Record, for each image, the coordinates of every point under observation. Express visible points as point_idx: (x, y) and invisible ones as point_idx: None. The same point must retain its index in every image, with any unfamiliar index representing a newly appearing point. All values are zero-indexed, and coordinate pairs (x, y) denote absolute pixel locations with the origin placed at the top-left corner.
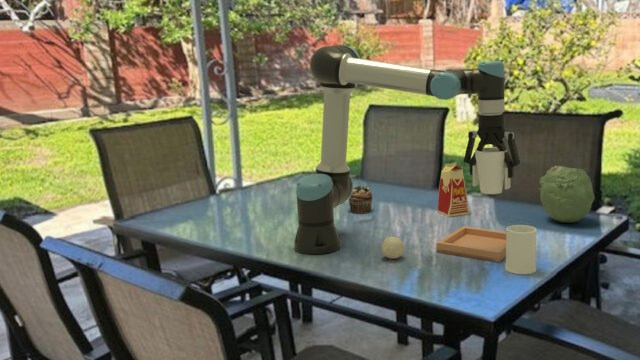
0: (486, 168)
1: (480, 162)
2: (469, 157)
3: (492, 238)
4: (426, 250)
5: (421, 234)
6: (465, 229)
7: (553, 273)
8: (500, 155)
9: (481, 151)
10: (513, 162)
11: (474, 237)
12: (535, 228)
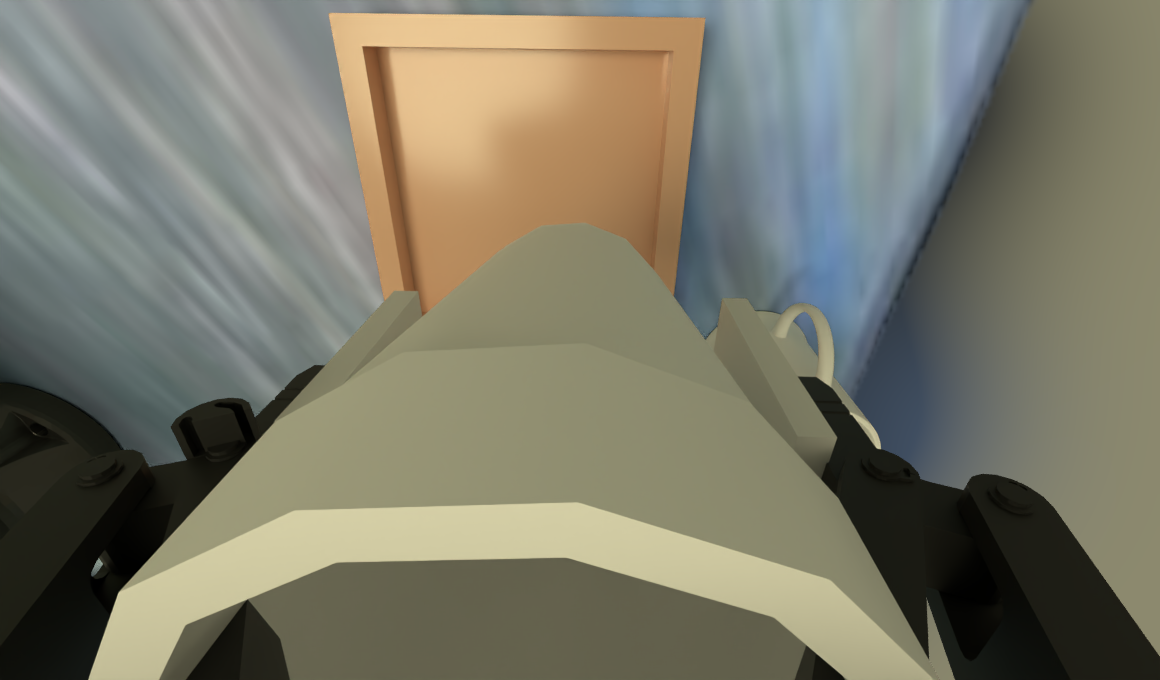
0: (560, 605)
1: (464, 667)
2: (104, 527)
3: (542, 64)
4: (363, 323)
5: (179, 123)
6: (366, 47)
7: (866, 348)
8: None
9: (250, 658)
10: (940, 609)
11: (452, 95)
12: (876, 438)
